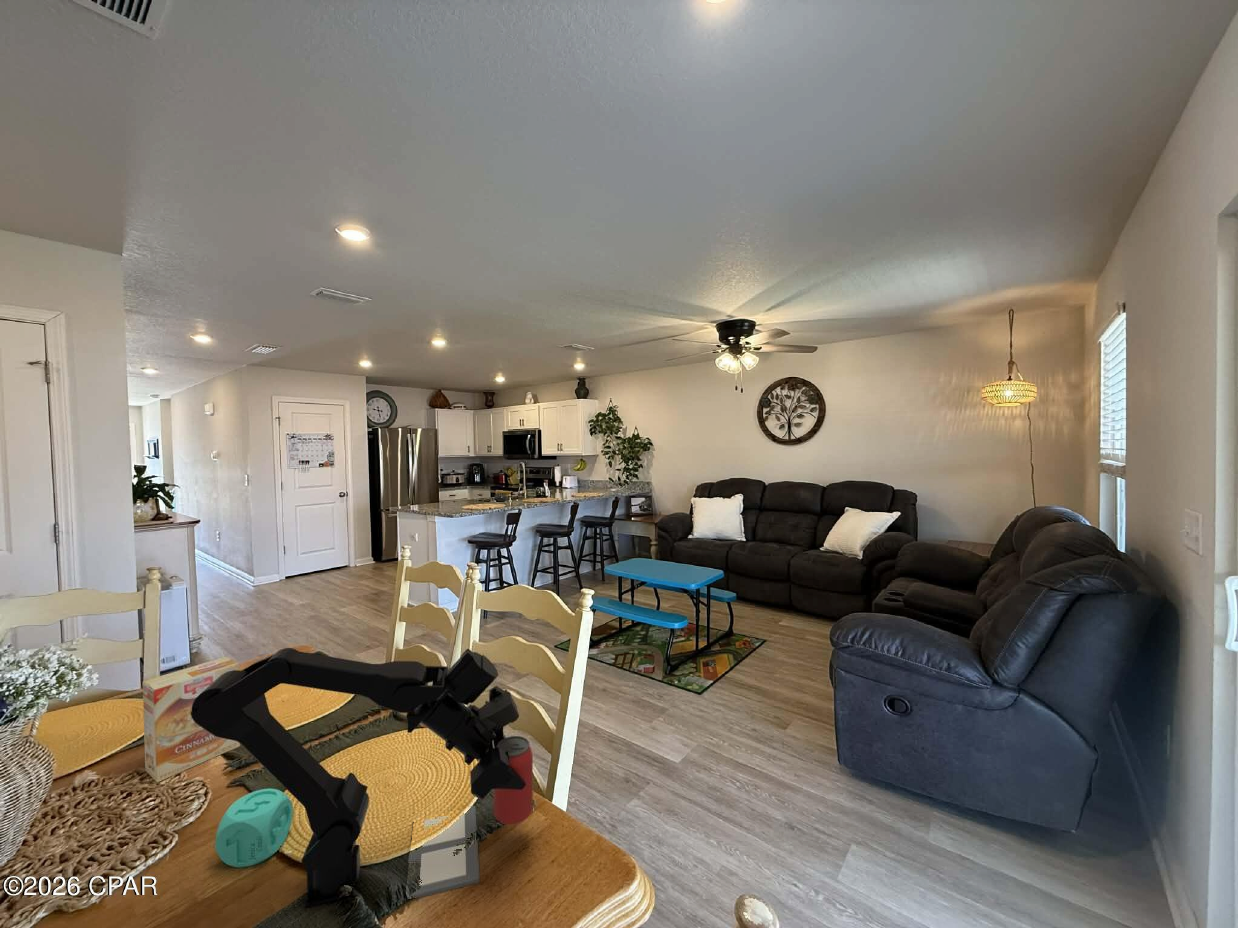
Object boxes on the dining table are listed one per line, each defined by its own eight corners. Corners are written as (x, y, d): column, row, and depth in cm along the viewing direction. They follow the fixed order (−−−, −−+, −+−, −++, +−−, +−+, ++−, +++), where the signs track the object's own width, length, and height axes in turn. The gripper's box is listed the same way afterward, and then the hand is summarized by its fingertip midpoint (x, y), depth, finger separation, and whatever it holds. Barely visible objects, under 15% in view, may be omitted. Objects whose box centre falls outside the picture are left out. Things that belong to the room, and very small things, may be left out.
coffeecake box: (156, 783, 103) (152, 689, 103) (144, 771, 107) (140, 680, 106) (241, 746, 116) (239, 662, 115) (228, 736, 120) (225, 655, 119)
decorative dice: (215, 869, 83) (213, 822, 82) (247, 831, 91) (246, 788, 90) (266, 867, 83) (264, 819, 83) (294, 829, 91) (293, 786, 91)
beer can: (524, 829, 84) (524, 758, 83) (486, 823, 85) (486, 753, 84) (538, 802, 90) (538, 736, 90) (503, 796, 91) (503, 731, 91)
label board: (404, 901, 77) (404, 896, 77) (413, 821, 93) (413, 817, 93) (479, 882, 80) (479, 877, 80) (475, 808, 97) (475, 804, 97)
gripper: (493, 710, 76) (565, 767, 80) (485, 660, 94) (544, 708, 98) (438, 772, 74) (515, 827, 78) (440, 708, 92) (503, 756, 96)
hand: (521, 773), depth 88 cm, fingers closed on beer can, 6 cm apart
